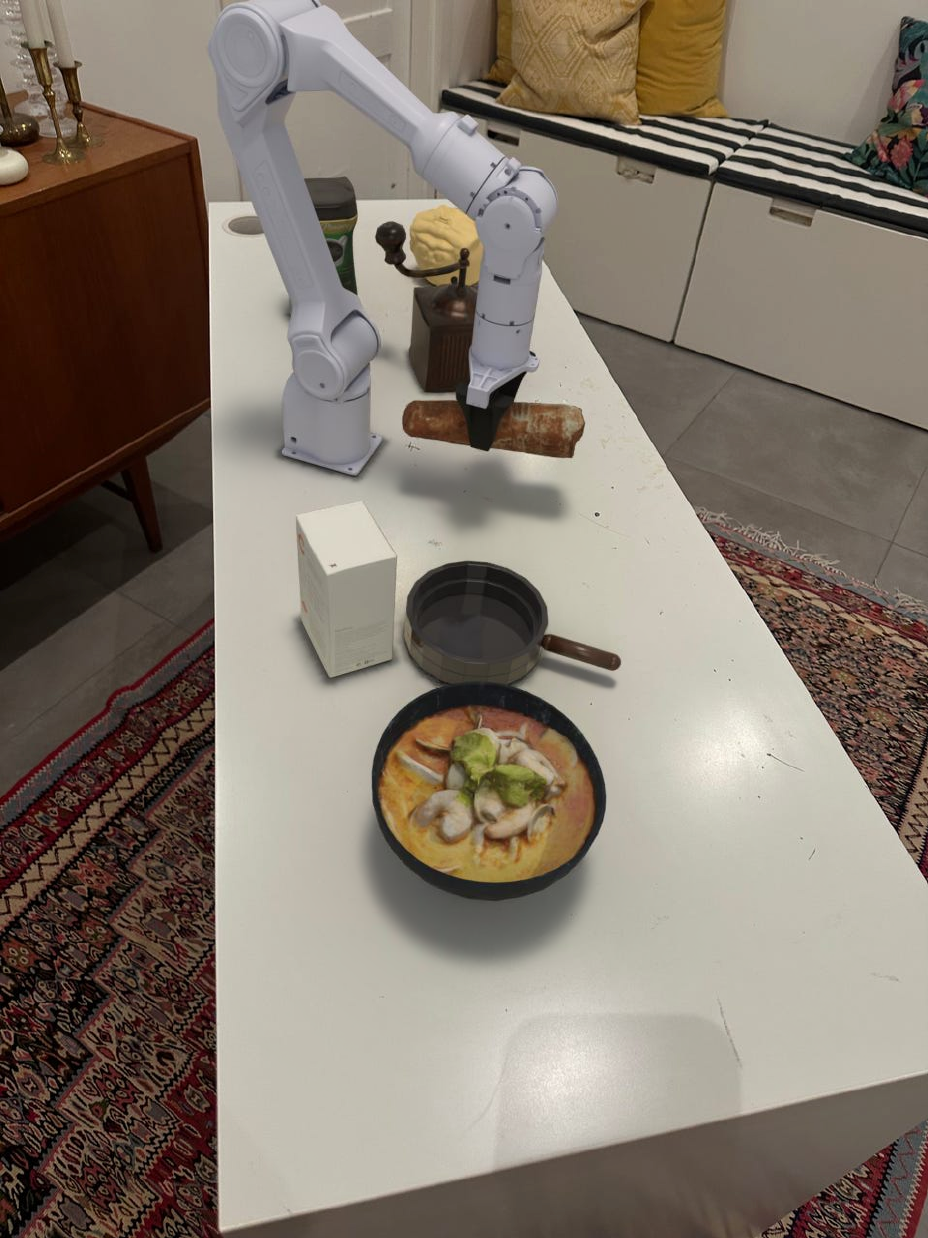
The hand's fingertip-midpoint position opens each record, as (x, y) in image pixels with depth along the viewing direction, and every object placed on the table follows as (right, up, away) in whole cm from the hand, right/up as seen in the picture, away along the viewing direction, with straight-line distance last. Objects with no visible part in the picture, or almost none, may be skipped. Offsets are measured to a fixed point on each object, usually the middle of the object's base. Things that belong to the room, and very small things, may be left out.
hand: (489, 431), depth 93 cm
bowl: (-2, -37, -24) cm, 44 cm away
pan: (-2, -22, -9) cm, 24 cm away
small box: (-14, -22, -11) cm, 28 cm away
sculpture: (-5, +32, +42) cm, 53 cm away
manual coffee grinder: (-7, +13, +24) cm, 28 cm away
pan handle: (+8, -24, -12) cm, 28 cm away
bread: (0, -2, +1) cm, 2 cm away
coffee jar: (-23, +23, +31) cm, 44 cm away
